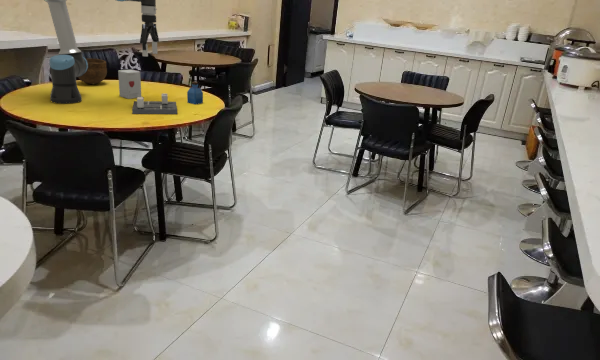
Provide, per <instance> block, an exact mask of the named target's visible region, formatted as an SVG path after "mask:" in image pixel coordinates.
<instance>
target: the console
mask: <svg viewBox="0 0 600 360" xmlns="http://www.w3.org/2000/svg"><path fill="white" fill-rule="evenodd" d="M131 111H132V112H131V113H132V115H178V106H177V102H176V101H170V100H169V101H168V104H162V100H161V101H153V100H151V101H149V100H148V101H146V100H144V108H137V100H134V101H133V105H132V109H131Z"/></svg>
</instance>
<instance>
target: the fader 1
mask: <svg viewBox="0 0 600 360" xmlns="http://www.w3.org/2000/svg"><path fill="white" fill-rule="evenodd" d="M144 99H145V97H143V96H141V97H137V98H136V101H137V108H144V101H145V100H144Z"/></svg>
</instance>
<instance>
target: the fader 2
mask: <svg viewBox="0 0 600 360" xmlns="http://www.w3.org/2000/svg"><path fill="white" fill-rule="evenodd" d="M168 97H169V96H168V93H161V101H162V104H168Z"/></svg>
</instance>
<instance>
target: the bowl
mask: <svg viewBox="0 0 600 360" xmlns="http://www.w3.org/2000/svg"><path fill="white" fill-rule="evenodd" d="M85 59H86V61H87V63H88V68H87V71H86V72H85V73H84V74H83V75H82V76H79V77H77V78H78V79H79V80H80V81H81V82H83V83H84V84H88V85H97V84H100V83H102V82H103V81H104V80H105V79H106V77H107V75H108V74H107V73H108V68H107V61H106V60H104V59H100V58H85Z"/></svg>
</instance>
